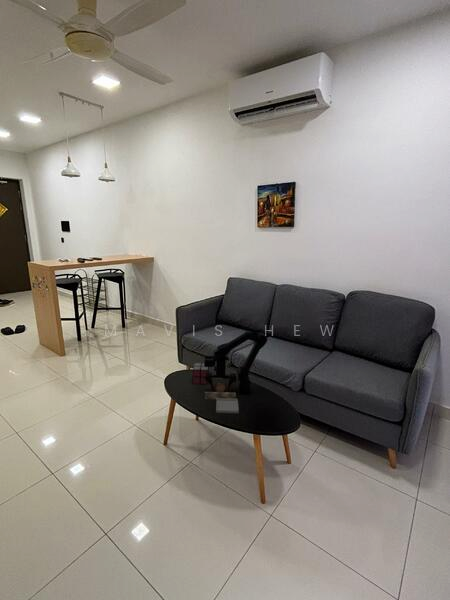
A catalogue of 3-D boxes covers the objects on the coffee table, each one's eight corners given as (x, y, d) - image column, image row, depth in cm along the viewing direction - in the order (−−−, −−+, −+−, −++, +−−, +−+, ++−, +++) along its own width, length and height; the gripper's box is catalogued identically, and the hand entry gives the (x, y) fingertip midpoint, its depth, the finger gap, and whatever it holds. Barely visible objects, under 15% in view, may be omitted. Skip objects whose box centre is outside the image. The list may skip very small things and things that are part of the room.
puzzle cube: (207, 384, 193) (208, 370, 190) (192, 383, 193) (192, 369, 191) (209, 377, 202) (209, 363, 200) (194, 376, 202) (194, 362, 200)
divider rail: (235, 398, 176) (235, 392, 176) (235, 399, 175) (235, 393, 174) (205, 398, 176) (205, 391, 175) (204, 399, 175) (204, 393, 174)
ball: (225, 389, 186) (225, 380, 185) (225, 394, 181) (225, 385, 179) (215, 389, 186) (215, 380, 185) (215, 394, 181) (215, 385, 179)
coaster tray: (237, 401, 174) (237, 398, 174) (238, 413, 162) (238, 410, 162) (216, 400, 174) (216, 398, 173) (216, 412, 162) (216, 410, 162)
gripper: (235, 361, 188) (235, 383, 191) (206, 360, 188) (206, 383, 191) (236, 368, 177) (235, 392, 180) (205, 368, 177) (205, 392, 180)
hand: (220, 389), depth 183 cm, fingers open, 9 cm apart
